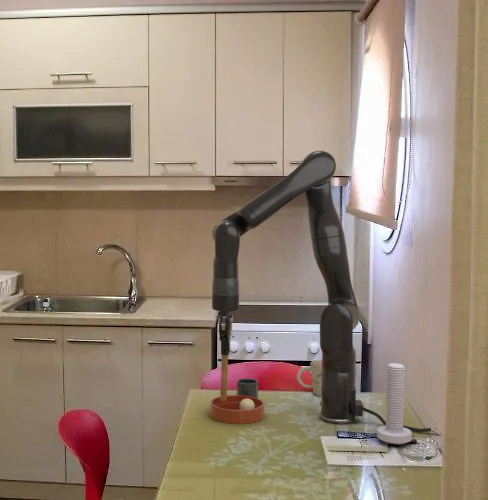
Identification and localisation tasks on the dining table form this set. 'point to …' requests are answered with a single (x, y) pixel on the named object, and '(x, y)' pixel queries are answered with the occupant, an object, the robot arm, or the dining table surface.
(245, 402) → the dough ball
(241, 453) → the dining table surface
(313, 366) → the mug
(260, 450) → the dining table surface
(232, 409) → the bowl
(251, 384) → the tube
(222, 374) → the stick
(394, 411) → the screw
